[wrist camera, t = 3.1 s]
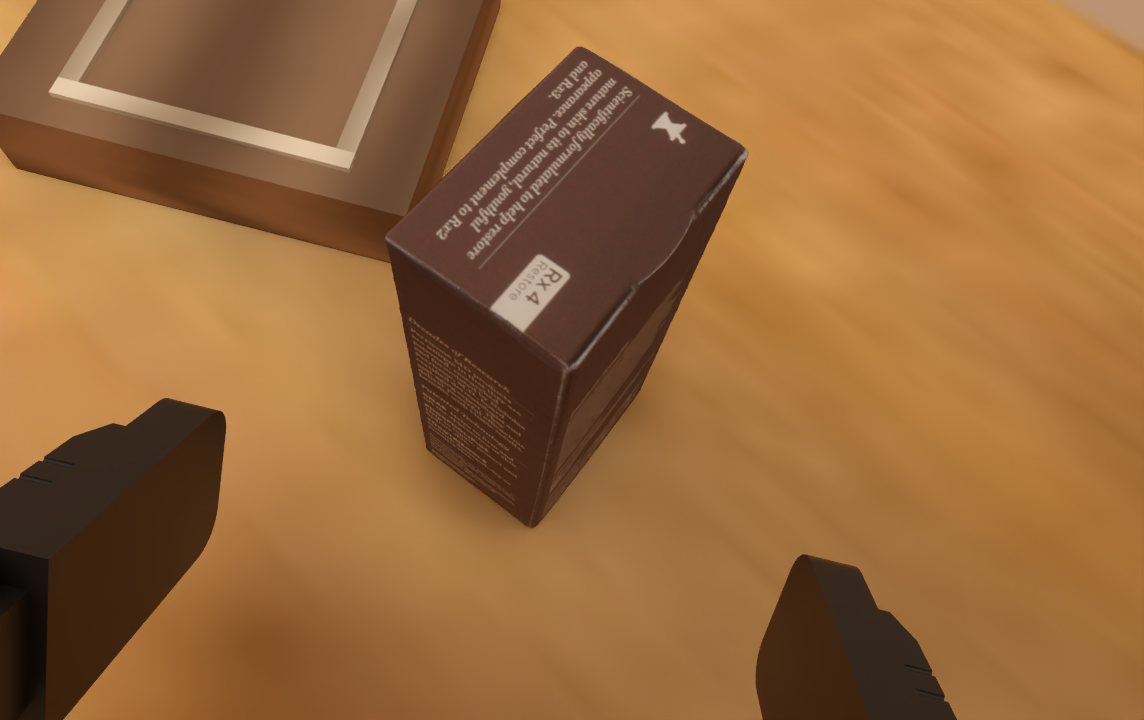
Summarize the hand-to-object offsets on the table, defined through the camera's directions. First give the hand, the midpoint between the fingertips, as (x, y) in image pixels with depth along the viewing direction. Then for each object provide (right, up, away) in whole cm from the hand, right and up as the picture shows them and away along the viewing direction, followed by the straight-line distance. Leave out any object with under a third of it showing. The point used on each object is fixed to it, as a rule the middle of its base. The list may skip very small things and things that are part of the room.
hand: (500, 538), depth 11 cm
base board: (-9, +12, +18) cm, 24 cm away
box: (0, +1, +15) cm, 15 cm away
